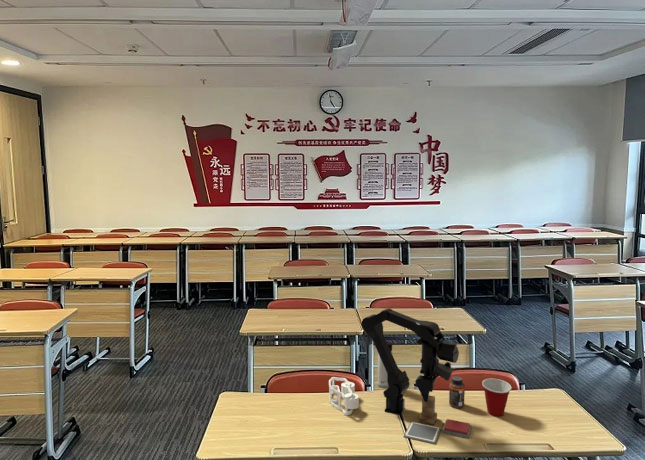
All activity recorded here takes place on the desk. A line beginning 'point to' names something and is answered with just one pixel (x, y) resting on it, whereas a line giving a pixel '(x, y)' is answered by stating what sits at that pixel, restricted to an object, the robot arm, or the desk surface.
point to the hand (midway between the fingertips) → (428, 396)
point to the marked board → (422, 432)
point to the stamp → (428, 411)
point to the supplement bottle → (456, 393)
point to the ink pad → (457, 428)
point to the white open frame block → (344, 395)
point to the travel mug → (383, 371)
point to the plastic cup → (496, 395)
